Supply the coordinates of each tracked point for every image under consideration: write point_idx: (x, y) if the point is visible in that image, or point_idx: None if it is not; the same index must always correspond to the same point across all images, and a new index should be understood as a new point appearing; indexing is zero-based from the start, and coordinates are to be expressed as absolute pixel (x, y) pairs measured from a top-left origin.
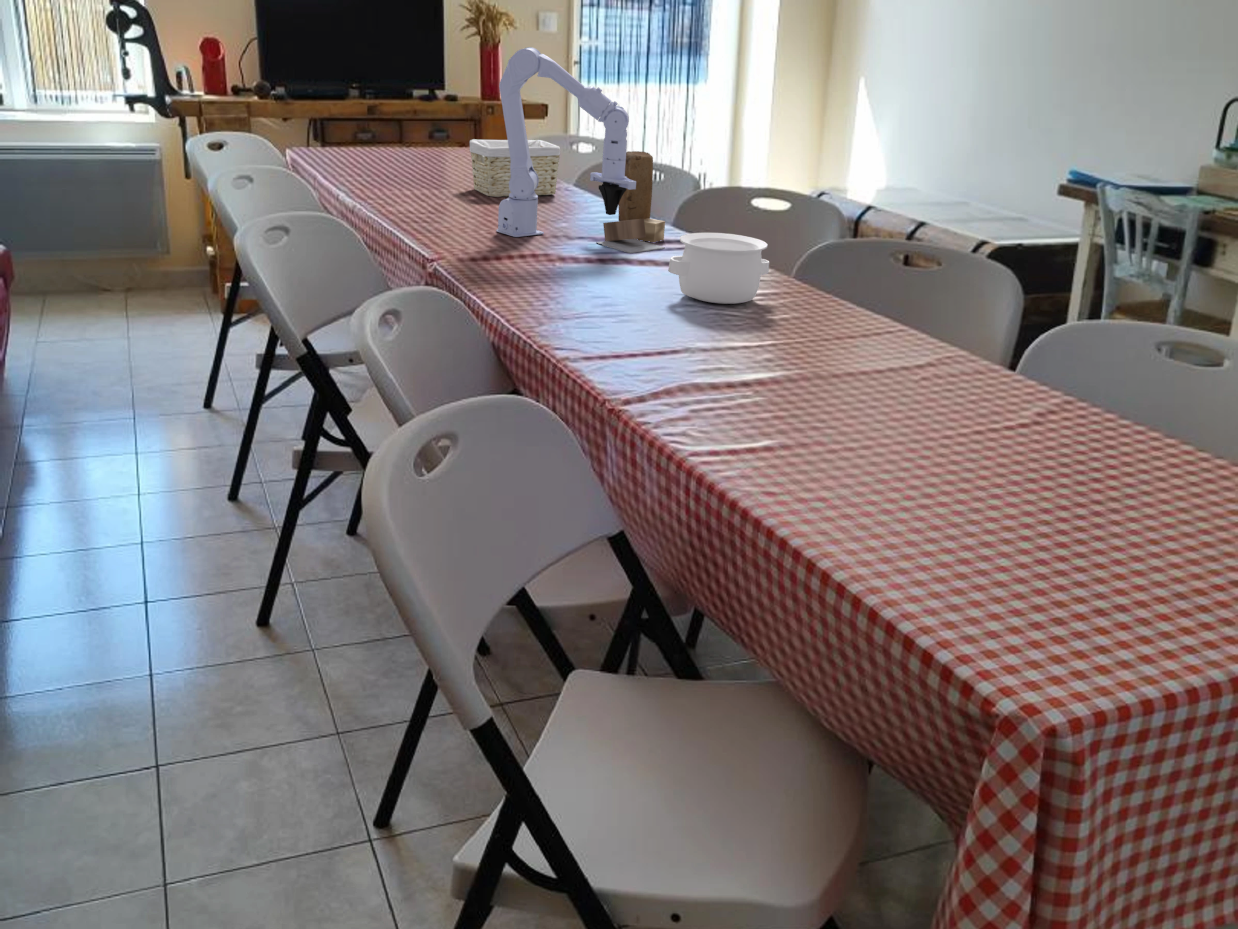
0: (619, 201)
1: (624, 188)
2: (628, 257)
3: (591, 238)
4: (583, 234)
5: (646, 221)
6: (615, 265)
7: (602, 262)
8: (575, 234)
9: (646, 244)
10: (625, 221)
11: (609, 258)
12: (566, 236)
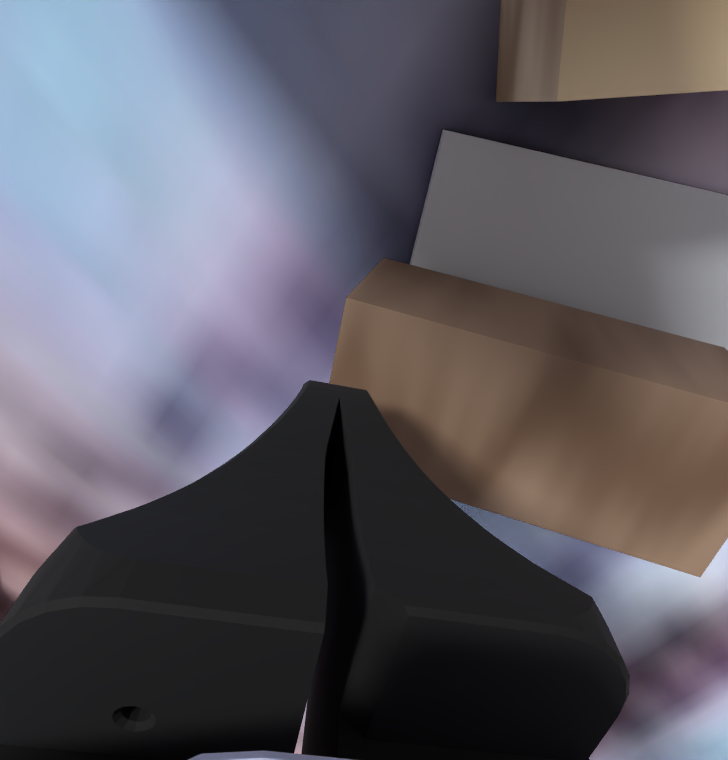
0: (423, 474)
1: (605, 709)
2: (683, 591)
3: (223, 376)
4: (79, 311)
5: (667, 46)
6: (688, 719)
7: (616, 719)
8: (53, 360)
9: (667, 252)
10: (619, 548)
11: None
12: (85, 458)
